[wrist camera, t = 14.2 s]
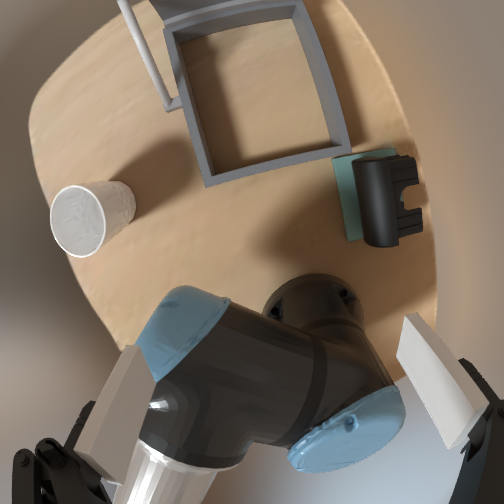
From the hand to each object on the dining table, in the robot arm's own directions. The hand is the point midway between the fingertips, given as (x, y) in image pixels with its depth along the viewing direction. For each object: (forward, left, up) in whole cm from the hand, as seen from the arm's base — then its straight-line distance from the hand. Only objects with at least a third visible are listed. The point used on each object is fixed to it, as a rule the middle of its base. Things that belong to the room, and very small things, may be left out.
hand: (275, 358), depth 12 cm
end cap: (+1, -16, -24) cm, 28 cm away
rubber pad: (+1, -16, -24) cm, 29 cm away
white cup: (+8, +18, -25) cm, 32 cm away
